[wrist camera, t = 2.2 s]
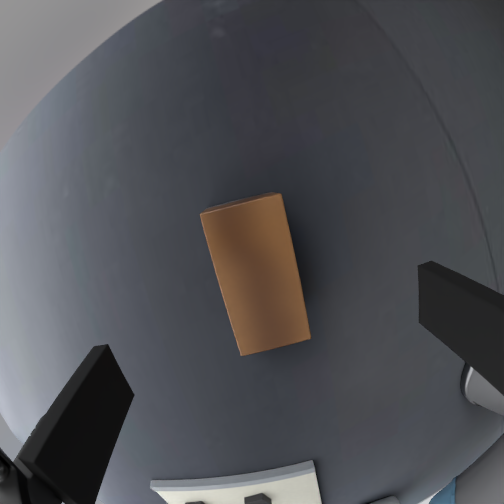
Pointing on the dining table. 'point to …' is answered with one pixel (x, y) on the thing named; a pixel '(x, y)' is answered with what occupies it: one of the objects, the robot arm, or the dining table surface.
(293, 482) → the whiteboard
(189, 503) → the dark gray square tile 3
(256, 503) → the grey block
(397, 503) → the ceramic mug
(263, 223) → the eraser
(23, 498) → the robot arm
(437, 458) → the dining table surface
